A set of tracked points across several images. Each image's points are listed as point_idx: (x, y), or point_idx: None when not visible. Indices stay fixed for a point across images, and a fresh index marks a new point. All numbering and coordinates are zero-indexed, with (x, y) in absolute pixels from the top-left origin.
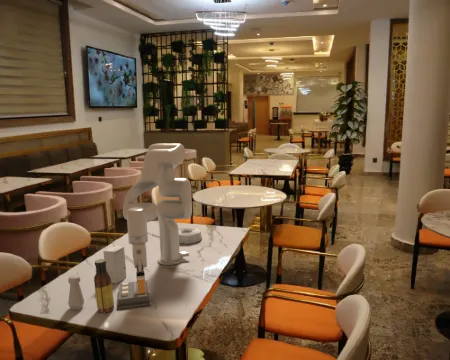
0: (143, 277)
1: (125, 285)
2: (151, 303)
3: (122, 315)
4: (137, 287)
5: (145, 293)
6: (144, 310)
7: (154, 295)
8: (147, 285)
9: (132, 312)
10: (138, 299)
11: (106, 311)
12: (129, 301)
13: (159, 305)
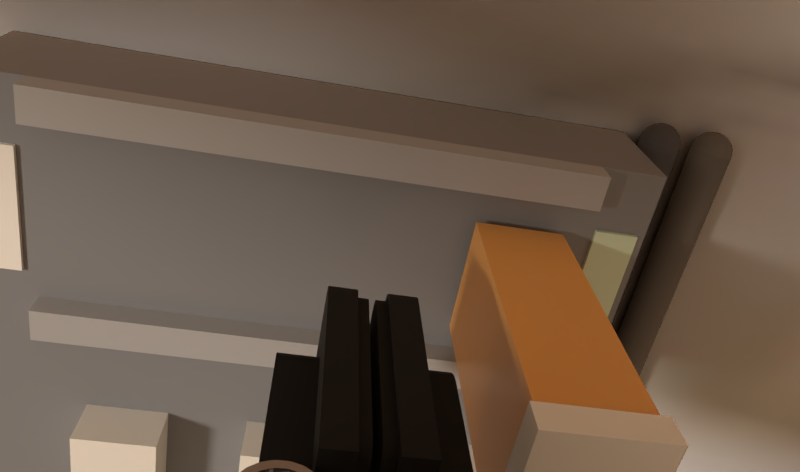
0: (651, 467)
1: (159, 467)
2: (717, 136)
3: (725, 456)
4: (245, 301)
5: (542, 224)
6: (782, 241)
7: (411, 11)
8: (283, 152)
9: (731, 367)
10: None
11: None
12: None
13: (792, 17)
